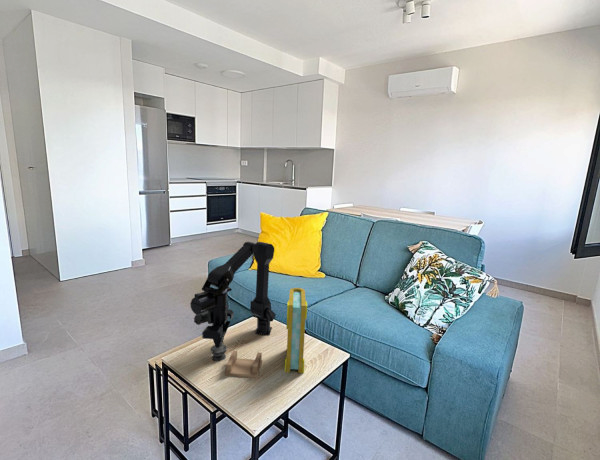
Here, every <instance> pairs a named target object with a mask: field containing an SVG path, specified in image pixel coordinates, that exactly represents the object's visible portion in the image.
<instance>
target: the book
mask: <svg viewBox="0 0 600 460" xmlns="http://www.w3.org/2000/svg"><path fill="white" fill-rule="evenodd" d="M286 305H287V306H286V307H287V308H286V309H287V310H286V330H287V340H286V341H287V342H286V343H287V344H286V358H284V359H285V360H284V373H288V374H289V373H291V370H298V371H297V372H298V374H304V373H305V358H304V351H305V350H304V348H305V333H306V332H305V327H306V320H307V318H308V301H307V300H306V290H305V289H304V288H302V287H292V288H290V289H289V297H288V300H287V304H286Z"/></svg>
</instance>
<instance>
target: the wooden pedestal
mask: <svg viewBox="0 0 600 460" xmlns="http://www.w3.org/2000/svg"><path fill="white" fill-rule="evenodd" d="M262 356H263V355H262V352H259V351H257V353H256V355H255V359H249V358H238V350H232V352H231V355H230V356H229V358H228V360H227V362H226V365H225V367H226V368H225V369H226V370H225V372H224V373H225V376H227V377H228V376H229V377H239V378H240V377H241V378H252V379H253V378H254V379H258V378H259V374H260V372H261V371H260V370H261V367H262V364H263V360H262Z"/></svg>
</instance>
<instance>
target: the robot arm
mask: <svg viewBox="0 0 600 460" xmlns="http://www.w3.org/2000/svg"><path fill="white" fill-rule="evenodd" d="M274 254H275V246H274V245H273V244H272V243H268V242H263V241H257V242H253V241H245V242H244V243H243V244H242V246H241V247H240V248H239V249H238V250H237V252H235V253H234V254H233V255H232V256H231V257H230V258H229V259H228V260H227V261H226V262H225V263H223V265H222V264H221V265H219V266H216V267H215V268H214V269H212V270H211V271H209V273H208V275H207V278H206V280H205V281H204V284H203V285H202V288H201V291H202V292H197V293H195V294H194V296H193V298H192V299H191V300H190V302H189V303H190V304H189V305H190V308H191V311H192V312H193V313H194V314H195V315H194V317H193V323H195V324H196V325H198V326H199V325H201V324H205V323H207V324H209V325H207V326H206V327H205V328H204V330H203V331H202V333H201V335H202V336H201V337H202V339H205V340H206V339H207V340H213V343H214V345H215V347H216V348H219V346H220V343H221V341H222V338H223V337H224V338H225V336H226V333H227V331H228V329H229V326H230V324H231V321H230V320H233V318H234V311H233V309H229V305H228V292H231V291H232V288H231V287H230V285H231V283H232V282H233V280H234V277H235V274H236V273H237V271H238V270H239V269H241V267H242V266H243V265H244V264H245V263H246V262H247V261H248V260H249V259H250V258H251V257H252V255H253V257H254V260H255V262H256V282H255V283H256V286H255V297H254V298H253V300H250V308H249V310H250V313H251V314H252V318H256V329H255V331H254V334H255V335H263V336H265V335H267V336H270V335H271V332H272V329H273V327H272V326H271V322H273V321H274V320H275V319H276V315H277V314H276V313H275V312H274V310H272V302H271V301H270V299H269V295H268V294H269V275H270V264H271V262H272V261H273V259H274V256H275V255H274ZM211 286H212V287H211Z"/></svg>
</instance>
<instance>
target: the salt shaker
mask: <svg viewBox="0 0 600 460" xmlns="http://www.w3.org/2000/svg"><path fill="white" fill-rule="evenodd" d="M224 339H225V336H224V337H223V338H222V341H221V343H220V346H219V348H216V347H215V344H214V345H212V346H211V347H210V351H211V354H212V356H211V360H212V361H215V362H221V361H224V360H226V358H227V354H226V352H227V350H228V347H227V345H226V344H224Z"/></svg>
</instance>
